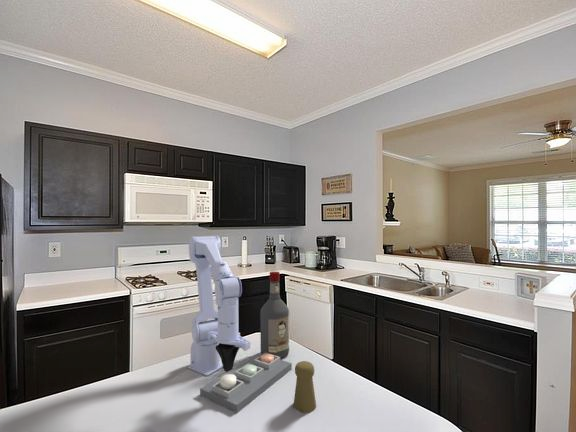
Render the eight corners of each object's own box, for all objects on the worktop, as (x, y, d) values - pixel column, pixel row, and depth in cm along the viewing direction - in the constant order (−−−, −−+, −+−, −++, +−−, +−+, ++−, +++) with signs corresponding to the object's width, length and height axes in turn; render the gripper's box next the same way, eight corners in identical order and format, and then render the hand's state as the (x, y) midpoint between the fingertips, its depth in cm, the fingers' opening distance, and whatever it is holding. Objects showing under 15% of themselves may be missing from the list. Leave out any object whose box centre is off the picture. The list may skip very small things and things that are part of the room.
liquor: (257, 353, 108) (257, 272, 109) (278, 346, 114) (277, 269, 114) (271, 362, 101) (271, 275, 101) (292, 355, 106) (291, 272, 107)
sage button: (239, 375, 88) (239, 369, 88) (248, 369, 92) (248, 363, 92) (250, 379, 86) (250, 373, 86) (259, 373, 90) (259, 367, 90)
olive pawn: (315, 414, 74) (314, 370, 74) (291, 411, 75) (291, 368, 75) (317, 399, 80) (317, 359, 80) (295, 397, 81) (295, 357, 81)
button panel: (200, 395, 82) (200, 383, 82) (258, 358, 104) (258, 349, 104) (237, 413, 74) (237, 399, 74) (291, 369, 96) (291, 358, 96)
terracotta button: (257, 363, 96) (257, 357, 96) (265, 358, 100) (265, 352, 100) (268, 366, 94) (268, 361, 94) (276, 361, 97) (276, 355, 97)
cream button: (216, 386, 81) (216, 379, 81) (228, 378, 85) (228, 372, 85) (228, 391, 79) (228, 384, 79) (239, 383, 82) (239, 376, 82)
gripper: (257, 321, 81) (257, 370, 81) (220, 312, 89) (220, 357, 89) (240, 329, 75) (240, 382, 75) (202, 319, 83) (202, 367, 83)
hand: (228, 369), depth 82 cm, fingers closed
